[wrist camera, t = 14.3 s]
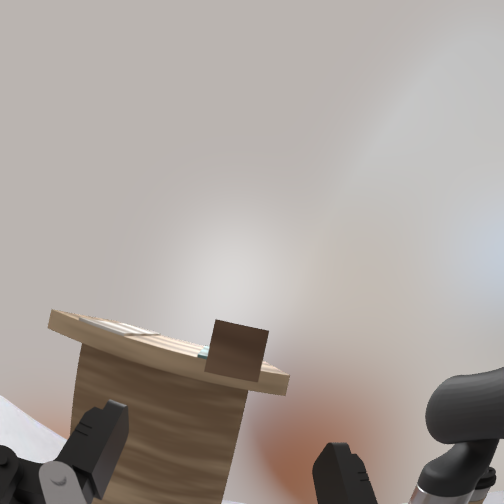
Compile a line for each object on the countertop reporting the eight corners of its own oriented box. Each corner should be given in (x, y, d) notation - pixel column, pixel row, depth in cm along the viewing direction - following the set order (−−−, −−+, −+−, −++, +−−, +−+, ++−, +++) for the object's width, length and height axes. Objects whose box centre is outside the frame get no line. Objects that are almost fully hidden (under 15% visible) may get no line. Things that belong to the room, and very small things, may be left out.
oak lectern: (226, 585, 15) (290, 372, 25) (45, 530, 14) (52, 306, 23) (221, 514, 34) (259, 356, 44) (92, 479, 33) (114, 319, 42)
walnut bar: (258, 382, 15) (269, 330, 16) (204, 371, 15) (215, 319, 16) (232, 352, 40) (236, 332, 40) (211, 347, 39) (216, 327, 40)
